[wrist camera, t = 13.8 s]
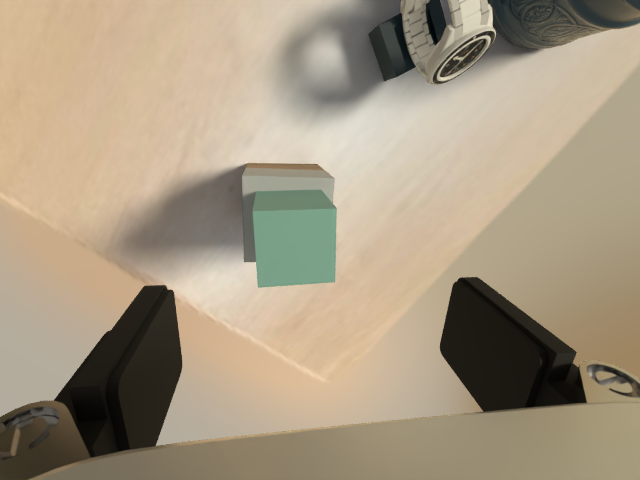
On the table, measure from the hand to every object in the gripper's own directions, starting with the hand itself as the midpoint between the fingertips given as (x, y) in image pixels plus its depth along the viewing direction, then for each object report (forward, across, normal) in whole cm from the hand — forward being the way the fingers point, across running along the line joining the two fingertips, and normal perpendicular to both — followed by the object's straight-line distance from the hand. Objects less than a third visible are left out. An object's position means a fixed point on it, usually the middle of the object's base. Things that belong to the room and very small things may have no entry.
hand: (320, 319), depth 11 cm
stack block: (+16, 0, +1) cm, 16 cm away
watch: (+25, -11, -13) cm, 30 cm away
